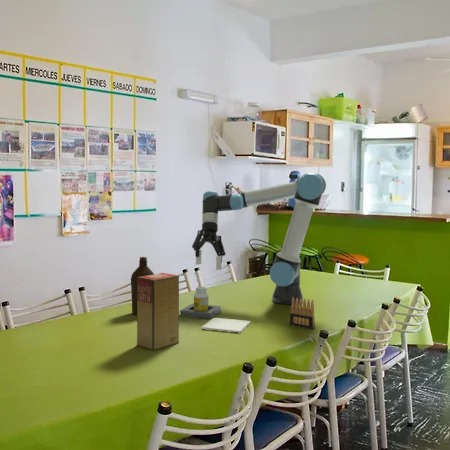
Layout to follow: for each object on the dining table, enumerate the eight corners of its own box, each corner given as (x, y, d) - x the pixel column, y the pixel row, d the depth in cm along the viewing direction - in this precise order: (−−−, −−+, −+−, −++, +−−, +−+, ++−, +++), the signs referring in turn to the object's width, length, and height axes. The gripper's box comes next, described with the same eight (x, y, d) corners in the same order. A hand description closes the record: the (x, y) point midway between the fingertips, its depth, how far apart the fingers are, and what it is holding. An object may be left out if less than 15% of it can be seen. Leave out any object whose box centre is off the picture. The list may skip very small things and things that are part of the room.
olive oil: (126, 312, 250) (127, 256, 247) (148, 309, 256) (148, 255, 253) (136, 317, 241) (137, 259, 239) (159, 314, 247) (159, 258, 244)
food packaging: (162, 337, 212) (162, 272, 209) (180, 342, 206) (181, 275, 204) (135, 345, 201) (135, 276, 199) (153, 351, 195) (154, 280, 193)
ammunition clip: (314, 328, 228) (315, 299, 227) (312, 329, 227) (313, 300, 226) (291, 324, 235) (292, 295, 234) (289, 325, 233) (290, 296, 232)
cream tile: (250, 323, 234) (250, 321, 234) (240, 333, 219) (240, 331, 219) (214, 319, 239) (214, 317, 239) (201, 329, 224) (201, 327, 224)
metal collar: (220, 311, 254) (220, 306, 254) (210, 318, 241) (210, 313, 240) (191, 308, 258) (191, 303, 258) (180, 315, 245) (180, 310, 245)
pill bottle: (193, 312, 252) (193, 286, 251) (207, 312, 253) (208, 286, 252) (193, 315, 246) (194, 289, 245) (208, 315, 246) (209, 289, 245)
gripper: (221, 230, 279) (220, 272, 273) (185, 218, 262) (183, 263, 255) (233, 227, 274) (232, 270, 268) (196, 215, 257) (195, 260, 250)
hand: (208, 266), depth 262 cm, fingers open, 13 cm apart
